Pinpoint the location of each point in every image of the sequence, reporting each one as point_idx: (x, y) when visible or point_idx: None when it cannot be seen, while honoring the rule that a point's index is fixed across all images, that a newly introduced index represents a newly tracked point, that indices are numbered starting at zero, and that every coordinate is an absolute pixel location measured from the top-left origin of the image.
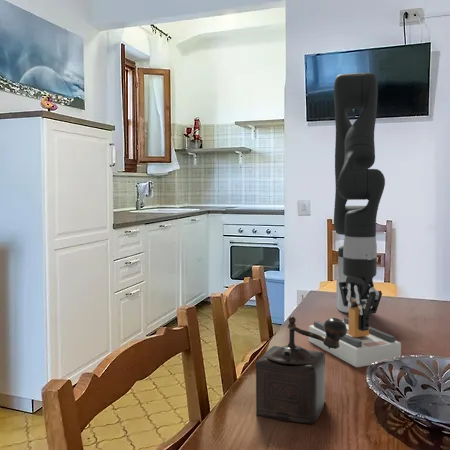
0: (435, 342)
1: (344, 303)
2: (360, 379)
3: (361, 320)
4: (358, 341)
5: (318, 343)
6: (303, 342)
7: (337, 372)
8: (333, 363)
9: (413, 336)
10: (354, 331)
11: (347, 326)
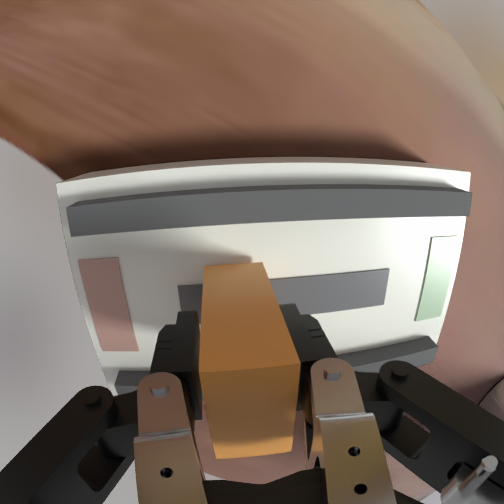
0: (240, 472)
1: (397, 373)
2: (6, 136)
3: (172, 351)
4: (74, 220)
5: (372, 159)
6: (424, 134)
7: (72, 81)
8: (156, 104)
9: (300, 458)
10: (203, 280)
11: (386, 327)
